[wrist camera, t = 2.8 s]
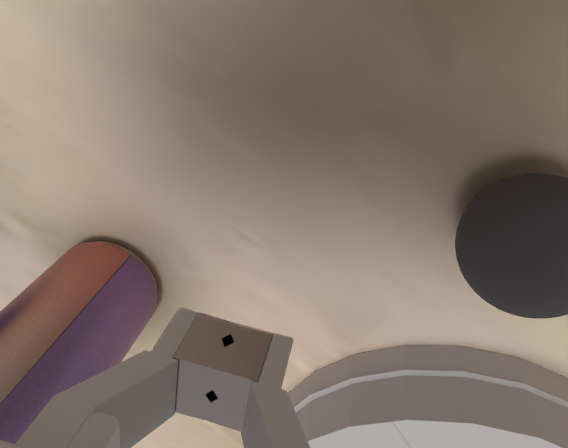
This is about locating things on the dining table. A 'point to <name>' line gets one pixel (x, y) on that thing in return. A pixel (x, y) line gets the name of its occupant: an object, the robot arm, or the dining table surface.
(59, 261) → the beverage can
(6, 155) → the dining table surface
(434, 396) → the dish
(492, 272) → the black cue ball
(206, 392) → the robot arm
